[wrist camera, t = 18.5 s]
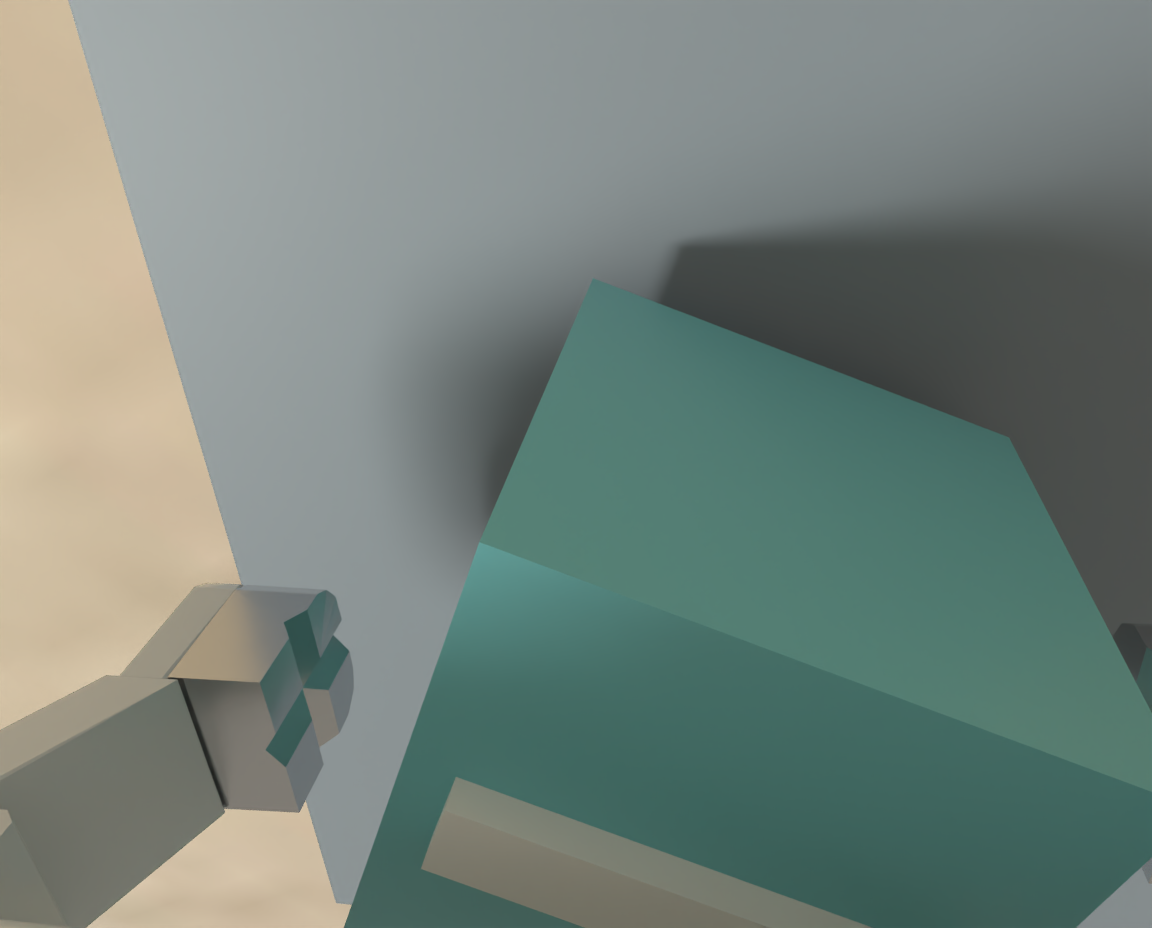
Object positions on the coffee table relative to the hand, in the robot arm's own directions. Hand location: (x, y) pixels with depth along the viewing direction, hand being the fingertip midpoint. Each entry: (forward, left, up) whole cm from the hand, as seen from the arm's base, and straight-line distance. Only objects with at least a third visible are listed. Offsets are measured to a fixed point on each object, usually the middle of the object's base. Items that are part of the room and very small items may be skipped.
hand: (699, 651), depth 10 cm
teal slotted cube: (0, 0, -2) cm, 2 cm away
